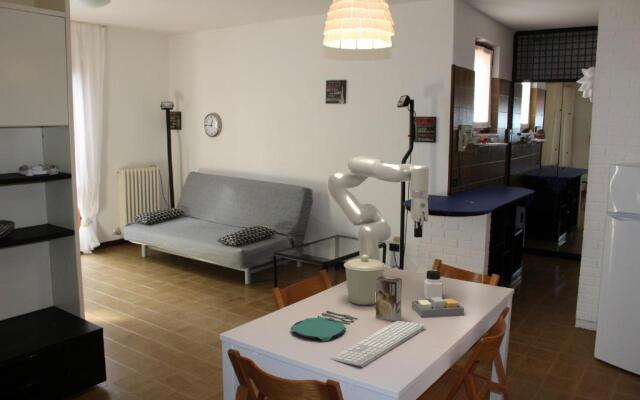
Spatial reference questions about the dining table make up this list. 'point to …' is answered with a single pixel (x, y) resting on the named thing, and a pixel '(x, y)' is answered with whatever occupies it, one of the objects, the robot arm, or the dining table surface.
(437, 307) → the key grey
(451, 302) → the yellow rectangular block
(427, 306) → the key cream
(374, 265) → the canister
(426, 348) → the dining table surface
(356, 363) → the keyboard
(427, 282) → the medicine bottle
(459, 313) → the keypad frame
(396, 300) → the coffee box
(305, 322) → the cutlery set
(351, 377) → the dining table surface
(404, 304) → the dining table surface
